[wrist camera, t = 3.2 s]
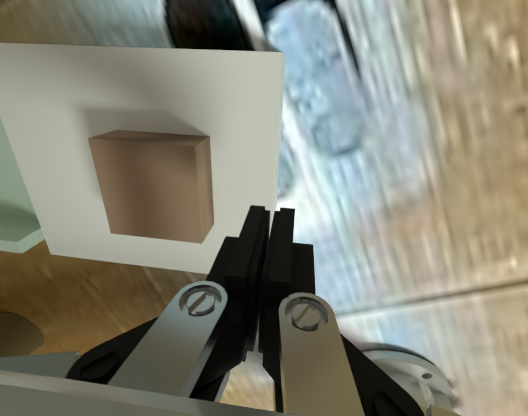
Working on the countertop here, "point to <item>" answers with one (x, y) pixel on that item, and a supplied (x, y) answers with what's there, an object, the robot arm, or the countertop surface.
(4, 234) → the box
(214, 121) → the white flat slab
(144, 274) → the countertop surface
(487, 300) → the countertop surface
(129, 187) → the walnut tile
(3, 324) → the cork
